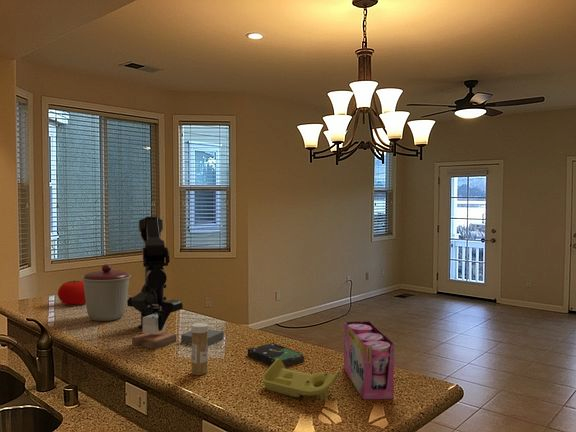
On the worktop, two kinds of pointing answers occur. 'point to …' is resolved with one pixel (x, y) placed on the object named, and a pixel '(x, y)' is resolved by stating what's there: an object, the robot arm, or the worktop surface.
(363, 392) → the gum box
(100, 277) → the canister
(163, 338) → the brown square tray
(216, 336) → the slate stand
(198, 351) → the sprinkles bottle
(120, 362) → the worktop surface
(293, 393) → the plastic component
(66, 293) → the tomato
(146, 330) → the two-plate housing
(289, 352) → the disk drive
